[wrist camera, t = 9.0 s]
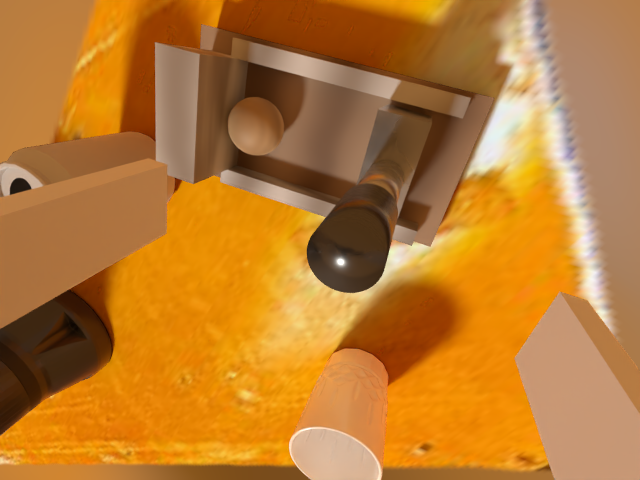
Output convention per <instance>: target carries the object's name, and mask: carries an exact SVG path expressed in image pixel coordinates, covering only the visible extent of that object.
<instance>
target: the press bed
mask: <svg viewBox="0 0 640 480" xmlns="http://www.w3.org/2000/svg"><path fill="white" fill-rule="evenodd" d="M249 97H260V98H263V99H266V100H268V101H270V102H271V103H272V104H274V105H275V106H276V107H277V109H278V110H279V112H280V113H281V115H282V118H283V122H284V134H283V137H282V140H281V142H280V144H279V145H278V146H277V147H276V148H275V149H274V150H273V151H271V152H270V153H267V154H265V155H251V154H247V153H245V152H243V151H242V150H240V149H239V148H238V147H237V146H236V145H235V144H234V143H233V141H232V140H231V137H230V135H229V132H228V117H229V114H230V112H231V110H232V108H233V107H234V106H235V105H236V104H237V103H238V102H239V101H241V100H243V99H245V98H249ZM493 101H494V98H492V97H488V96H484V95H480V94H476V93H472V92H468V91H464V90H460V89H456V88H452V87H448V86H444V85H440V84H436V83H432V82H428V81H424V80H420V79H416V78H412V77H408V76H405V75H401V74H397V73H393V72H389V71H385V70H381V69H377V68H373V67H369V66H365V65H361V64H357V63H353V62H349V61H345V60H341V59H337V58H333V57H329V56H325V55H321V54H317V53H313V52H309V51H305V50H301V49H297V48H293V47H290V46H286V45H282V44H278V43H274V42H270V41H266V40H262V39H258V38H254V37H250V36H246V35H242V34H238V33H234V32H230V31H226V30H222V29H218V28H214V27H210V26H206V25H202V24H201V43H200V49H198V48H191V47H184V46H178V45H171V44H164V43H157V42H155V109H156V161H158V162H161V163H165V164H167V175H169V176H171V177H174V178H177V179H180V180H183V181H186V182H189V183H192V184H195V183H197V182H199V181H202V180H204V179H206V178H209V177H211V176H213V175H215V176H218V177H221V180H220V182H222V183H225V184H228V185H231V186H234V187H237V188H240V189H243V190H246V191H249V192H252V193H255V194H258V195H261V196H264V197H267V198H270V199H273V200H276V201H279V202H282V203H285V204H288V205H291V206H294V207H297V208H300V209H303V210H306V211H309V212H312V213H315V214H318V215H321V216H324V217H327V216H328V214H329V213H330V212H331V211H332V209H333V208H334V207H335V205H336V204H337V203H338V202H339V200H340V199H341V198H342V197H343V195H344V194H345V193H346V192H347V191H348V190H349V189H350V188H352V187H354V186H356V185H357V182H358V178H359V175H360V171H361V168H362V164H363V161H364V157H365V154H366V150H367V147H368V143H369V140H370V136H371V133H372V129H373V126H374V122H375V119H376V115H377V112H378V109H380V108H382V107H384V106H386V105H388V104H390V105H393V106H397V107H401V108H405V109H408V110H412V111H416V112H419V113H423V114H427V115H431V116H432V125H431V128H430V131H429V134H428V136H427V139H426V142H425V145H424V147H423V150H422V153H421V156H420V158H419V161H418V164H417V167H416V169H415V172H414V175H413V178H412V180H411V183H410V186H409V189H408V191H407V194H406V197H405V200H404V202H403V205H402V208H401V211H400V213H399V216H398V219H397V222H396V226H395V230H394V234H393V238H392V239H393V240H396V241H399V242H402V243H405V244H408V245H411V246H412V244H413V241H415V242H418V243H421V244H424V245H427V246H431V244H432V242H433V239H434V237H435V235H436V233H437V230H438V228H439V226H440V223H441V221H442V219H443V216H444V214H445V212H446V209H447V207H448V205H449V202H450V200H451V198H452V195H453V193H454V191H455V189H456V186H457V184H458V182H459V179H460V177H461V175H462V172H463V170H464V168H465V165H466V163H467V161H468V158H469V156H470V154H471V152H472V149H473V147H474V145H475V142H476V140H477V138H478V135H479V133H480V131H481V128H482V126H483V124H484V121H485V119H486V117H487V115H488V112H489V110H490V108H491V105H492V103H493Z"/></svg>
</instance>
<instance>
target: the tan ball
mask: <svg viewBox="0 0 640 480" xmlns="http://www.w3.org/2000/svg"><path fill="white" fill-rule="evenodd" d="M228 132H229V135H230V137H231V140H232V141H233V143H234V144H235V145H236V146H237V147H238V148H239V149H240V150H242V151H243V152H245V153H247V154H251V155H265V154H267V153H270V152H271V151H273V150H274V149H275V148H276V147H277V146H278V145H279V144H280V142H281V140H282V137H283V134H284V122H283V118H282V115H281V113H280V112H279V110H278V109H277V107H276V106H275V105H274V104H272V103H271V102H270V101H268V100H266V99H263V98H260V97H249V98H245V99H243V100H241V101H239V102H238V103H237V104H236V105H235V106H234V107H233V108H232V110H231V112H230V114H229V117H228Z"/></svg>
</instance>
